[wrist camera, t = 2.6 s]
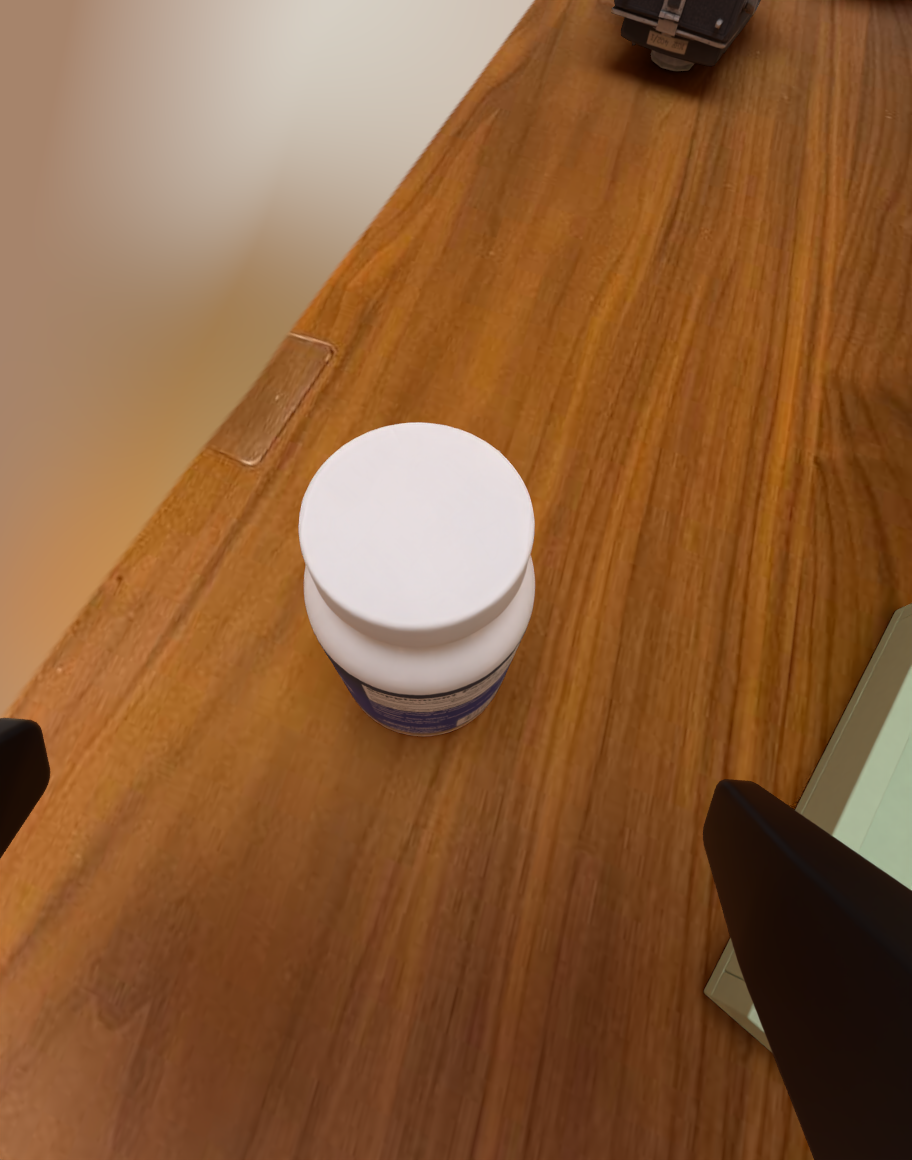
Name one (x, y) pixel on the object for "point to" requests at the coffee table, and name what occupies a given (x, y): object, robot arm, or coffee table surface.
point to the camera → (684, 28)
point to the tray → (855, 790)
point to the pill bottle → (418, 572)
